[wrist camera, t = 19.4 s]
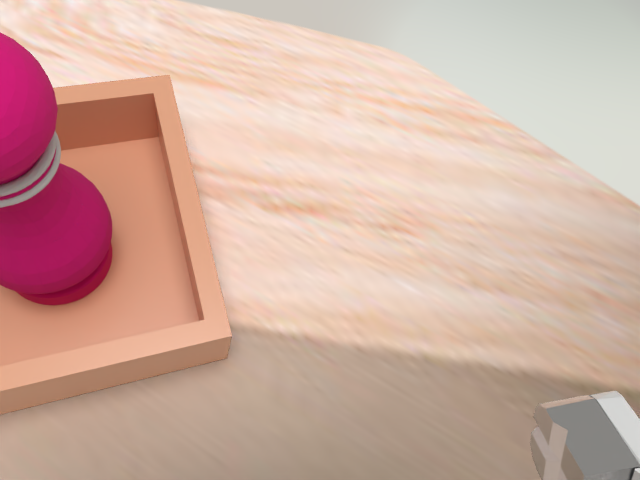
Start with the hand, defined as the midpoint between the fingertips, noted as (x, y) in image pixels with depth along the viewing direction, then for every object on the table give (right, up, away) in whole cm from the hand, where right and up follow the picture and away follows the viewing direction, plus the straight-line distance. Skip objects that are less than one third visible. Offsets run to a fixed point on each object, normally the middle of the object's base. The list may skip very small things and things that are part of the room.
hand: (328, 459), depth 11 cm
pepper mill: (-16, +3, +25) cm, 30 cm away
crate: (-16, +3, +26) cm, 31 cm away
